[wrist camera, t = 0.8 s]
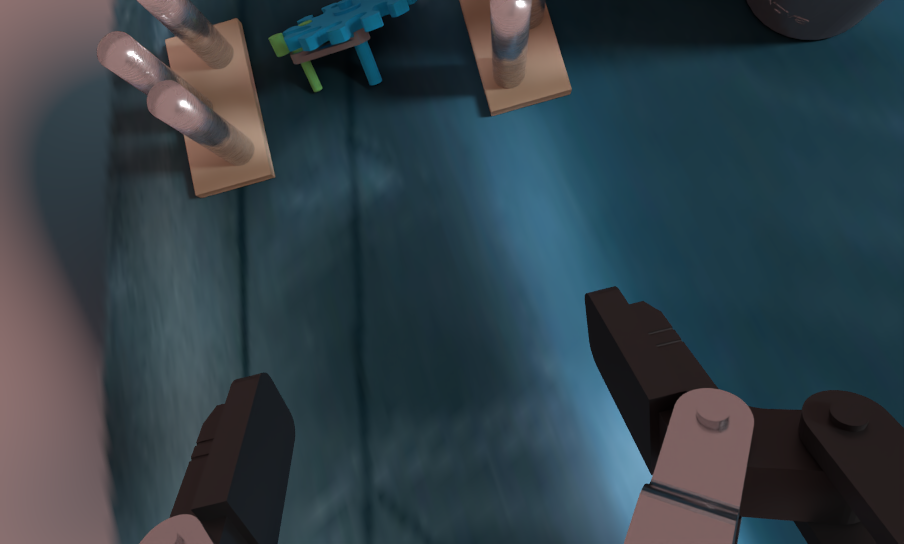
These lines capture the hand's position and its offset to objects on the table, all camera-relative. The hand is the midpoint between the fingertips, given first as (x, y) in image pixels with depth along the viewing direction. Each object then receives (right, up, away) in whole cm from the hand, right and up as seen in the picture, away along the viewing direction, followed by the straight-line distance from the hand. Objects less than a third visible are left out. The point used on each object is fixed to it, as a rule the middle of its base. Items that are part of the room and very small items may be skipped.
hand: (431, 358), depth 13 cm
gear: (-7, +20, +29) cm, 35 cm away
